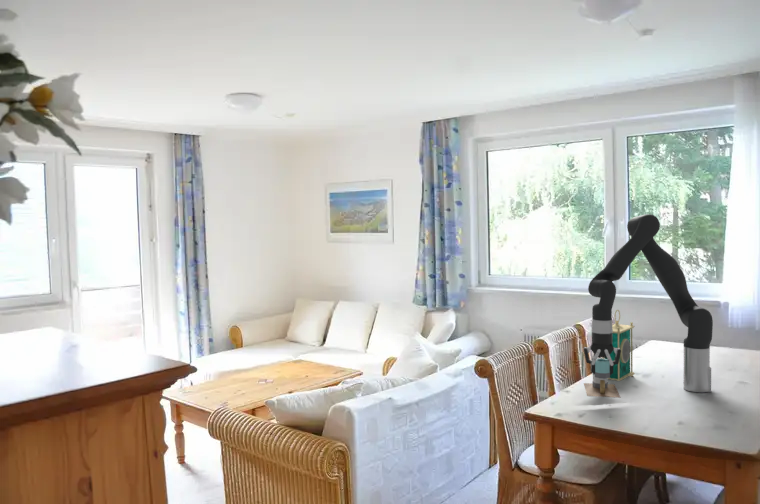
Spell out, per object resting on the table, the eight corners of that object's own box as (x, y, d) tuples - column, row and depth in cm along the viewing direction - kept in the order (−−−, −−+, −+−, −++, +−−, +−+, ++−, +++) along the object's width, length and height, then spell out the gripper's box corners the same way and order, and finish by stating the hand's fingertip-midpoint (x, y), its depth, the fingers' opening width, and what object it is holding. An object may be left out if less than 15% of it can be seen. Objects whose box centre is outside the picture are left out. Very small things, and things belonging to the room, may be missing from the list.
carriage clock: (620, 384, 247) (620, 313, 246) (599, 381, 253) (598, 311, 252) (635, 376, 260) (635, 308, 258) (614, 373, 266) (614, 306, 264)
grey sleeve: (603, 384, 243) (602, 368, 242) (609, 388, 238) (609, 372, 237) (590, 385, 242) (590, 369, 242) (597, 389, 237) (597, 373, 236)
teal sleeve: (608, 375, 233) (608, 358, 232) (610, 378, 228) (610, 362, 227) (594, 374, 234) (594, 358, 234) (595, 378, 229) (595, 361, 229)
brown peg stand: (614, 388, 243) (614, 372, 242) (620, 401, 225) (620, 384, 225) (583, 386, 246) (583, 371, 245) (587, 399, 228) (587, 383, 228)
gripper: (620, 329, 232) (620, 372, 233) (581, 328, 235) (581, 371, 236) (623, 333, 224) (623, 377, 225) (583, 332, 228) (583, 376, 229)
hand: (602, 374), depth 231 cm, fingers closed on teal sleeve, 5 cm apart
